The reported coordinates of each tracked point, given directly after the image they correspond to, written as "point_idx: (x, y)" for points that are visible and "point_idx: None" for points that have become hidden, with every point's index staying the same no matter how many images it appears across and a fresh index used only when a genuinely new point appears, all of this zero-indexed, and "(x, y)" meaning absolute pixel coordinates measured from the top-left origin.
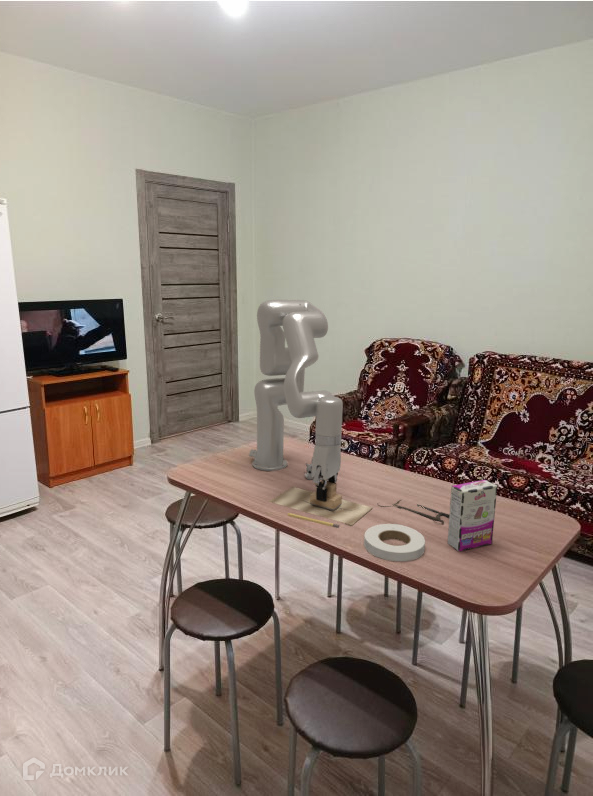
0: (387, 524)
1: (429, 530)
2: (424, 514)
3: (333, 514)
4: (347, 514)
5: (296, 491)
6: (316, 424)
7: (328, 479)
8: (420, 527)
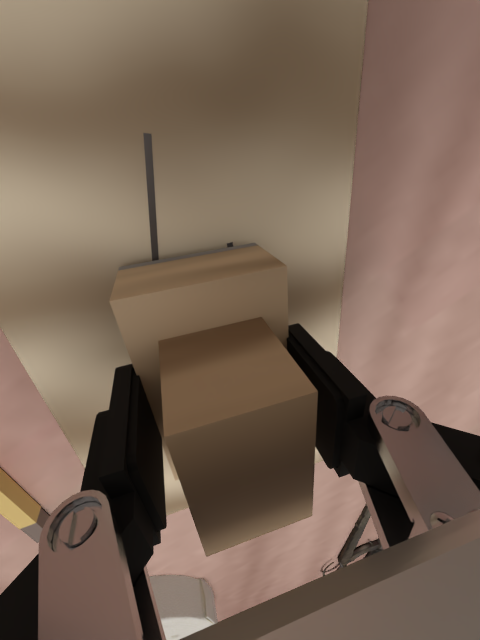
0: (184, 620)
1: (277, 585)
2: (356, 538)
3: None
4: None
5: None
6: None
7: (369, 432)
8: (280, 572)
